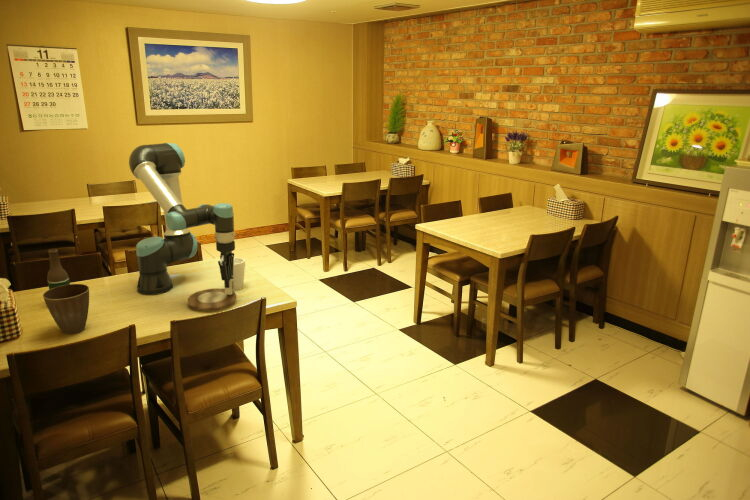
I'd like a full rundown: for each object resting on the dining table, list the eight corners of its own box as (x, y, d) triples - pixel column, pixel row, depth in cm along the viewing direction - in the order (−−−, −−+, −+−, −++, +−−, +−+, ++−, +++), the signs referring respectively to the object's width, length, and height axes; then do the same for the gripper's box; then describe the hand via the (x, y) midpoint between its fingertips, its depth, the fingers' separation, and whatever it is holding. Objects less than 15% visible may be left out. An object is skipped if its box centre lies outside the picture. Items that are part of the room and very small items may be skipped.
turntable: (190, 313, 208) (188, 296, 205) (185, 295, 225) (184, 279, 223) (240, 305, 216) (239, 289, 213) (232, 289, 233) (231, 273, 231)
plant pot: (58, 343, 185) (50, 302, 180) (44, 330, 194) (36, 291, 190) (101, 329, 196) (95, 291, 191) (86, 317, 205) (80, 280, 200)
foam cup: (241, 292, 233) (239, 265, 229) (222, 290, 235) (220, 263, 231) (249, 284, 242) (248, 258, 238) (231, 282, 244) (229, 256, 240)
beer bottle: (53, 301, 220) (43, 248, 213) (74, 298, 223) (64, 246, 216) (50, 308, 213) (40, 253, 206) (71, 305, 216) (62, 251, 209)
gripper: (228, 245, 206) (231, 299, 213) (239, 237, 218) (242, 289, 225) (210, 244, 207) (214, 299, 213) (222, 236, 219) (225, 288, 226)
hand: (228, 293), depth 219 cm, fingers closed
